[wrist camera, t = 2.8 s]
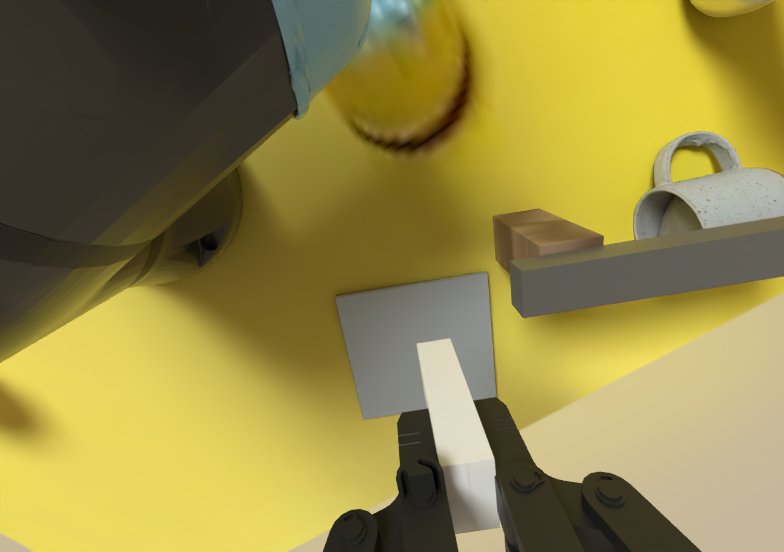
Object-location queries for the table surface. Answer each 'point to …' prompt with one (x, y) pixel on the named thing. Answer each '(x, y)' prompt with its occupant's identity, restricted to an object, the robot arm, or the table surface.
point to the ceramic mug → (707, 192)
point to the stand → (538, 236)
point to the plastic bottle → (728, 7)
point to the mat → (416, 339)
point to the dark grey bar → (648, 267)
